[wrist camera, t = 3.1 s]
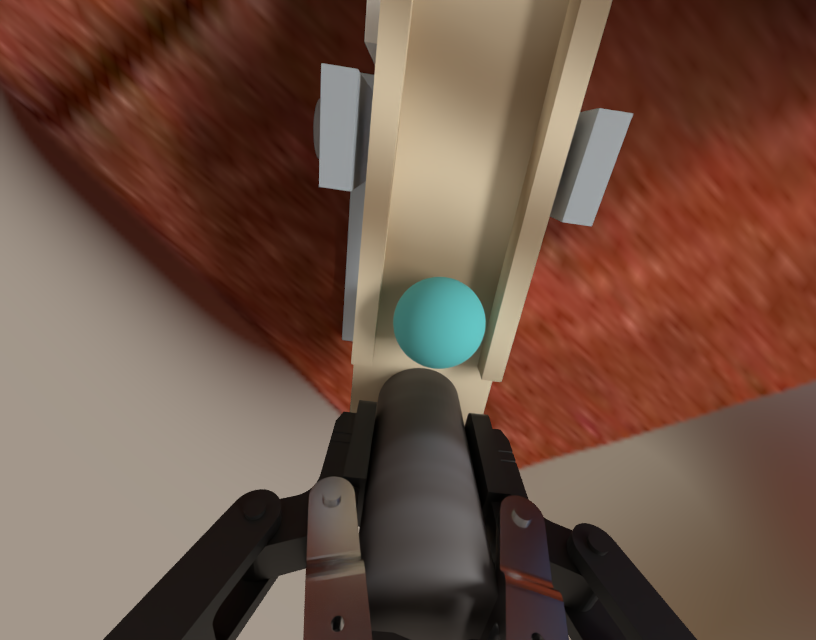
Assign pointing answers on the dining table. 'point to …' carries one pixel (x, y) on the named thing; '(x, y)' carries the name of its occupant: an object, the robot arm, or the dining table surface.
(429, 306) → the ball
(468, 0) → the lever
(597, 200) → the stand
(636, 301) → the dining table surface
